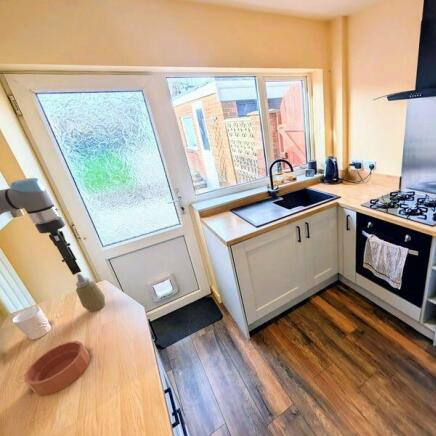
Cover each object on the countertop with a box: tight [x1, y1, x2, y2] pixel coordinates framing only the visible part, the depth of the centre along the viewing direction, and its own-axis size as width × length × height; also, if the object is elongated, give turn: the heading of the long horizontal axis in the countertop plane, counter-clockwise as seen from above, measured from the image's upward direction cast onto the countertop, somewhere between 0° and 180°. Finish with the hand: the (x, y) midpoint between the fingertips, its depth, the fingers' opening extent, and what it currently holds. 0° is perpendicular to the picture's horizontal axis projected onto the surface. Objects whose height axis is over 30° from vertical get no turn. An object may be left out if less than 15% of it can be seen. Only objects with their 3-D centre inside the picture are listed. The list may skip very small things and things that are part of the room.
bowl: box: [24, 340, 91, 396], centre depth 80 cm, size 14×14×6 cm
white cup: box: [12, 306, 52, 340], centre depth 96 cm, size 8×8×10 cm
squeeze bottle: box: [75, 272, 106, 313], centre depth 105 cm, size 8×8×18 cm
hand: (74, 266), depth 100 cm, fingers open, 13 cm apart
